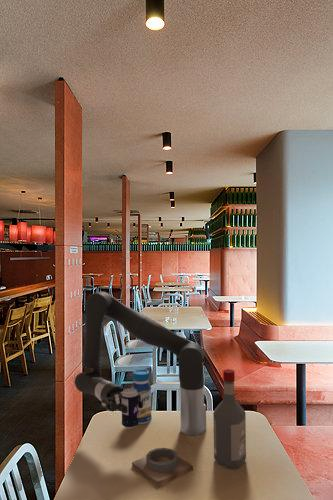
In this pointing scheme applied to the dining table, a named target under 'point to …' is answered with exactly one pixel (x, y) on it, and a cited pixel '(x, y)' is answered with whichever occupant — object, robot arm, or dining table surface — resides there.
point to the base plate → (165, 477)
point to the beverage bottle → (143, 394)
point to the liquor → (229, 427)
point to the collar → (162, 466)
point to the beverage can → (130, 408)
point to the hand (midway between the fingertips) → (134, 407)
